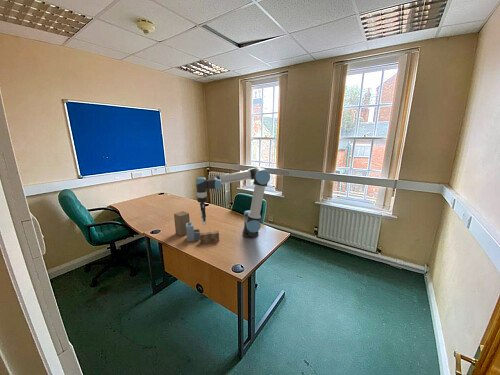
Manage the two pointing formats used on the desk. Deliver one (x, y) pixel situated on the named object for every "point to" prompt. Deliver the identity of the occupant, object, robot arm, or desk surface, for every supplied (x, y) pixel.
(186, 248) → the desk surface
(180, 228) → the wooden block
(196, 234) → the gray block with ears
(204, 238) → the rail
